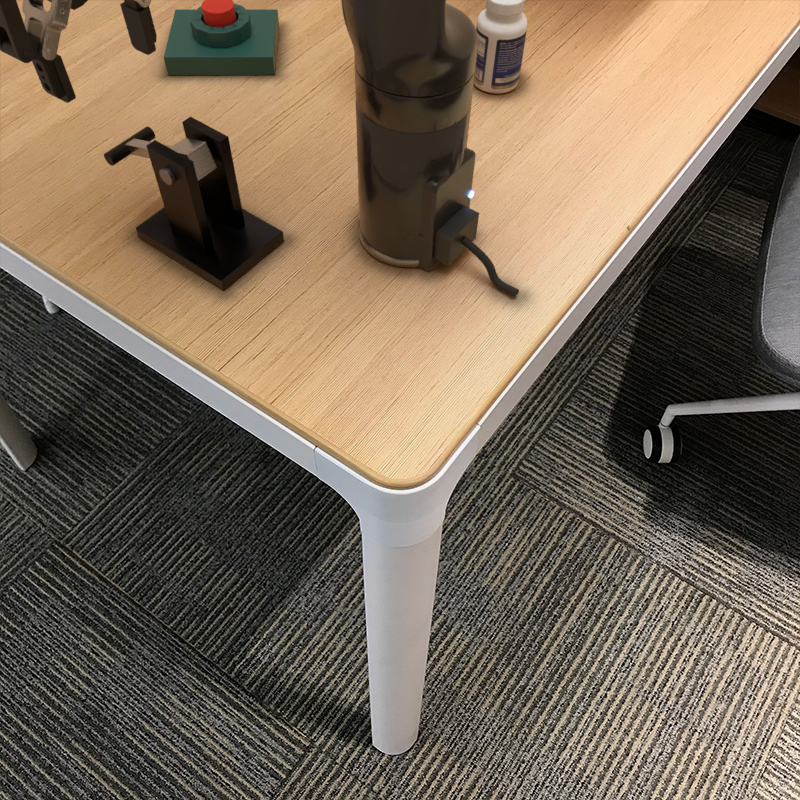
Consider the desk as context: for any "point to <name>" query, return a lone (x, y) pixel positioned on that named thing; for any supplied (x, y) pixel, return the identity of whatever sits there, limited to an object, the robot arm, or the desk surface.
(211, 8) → the button
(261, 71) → the control block
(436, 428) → the desk surface
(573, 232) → the desk surface
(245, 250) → the black lever mount
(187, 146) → the lever
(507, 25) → the pill bottle
